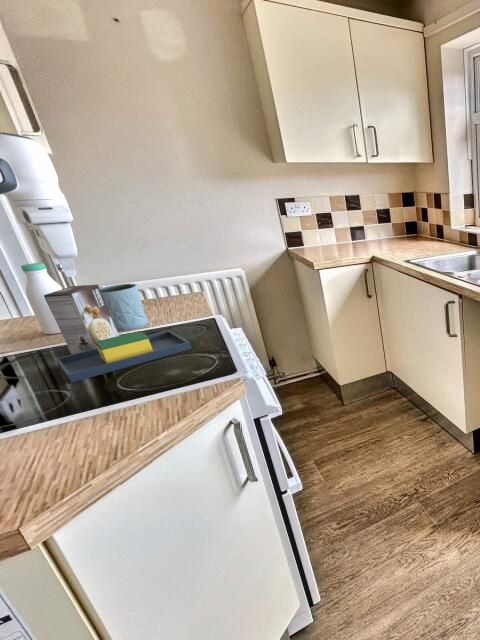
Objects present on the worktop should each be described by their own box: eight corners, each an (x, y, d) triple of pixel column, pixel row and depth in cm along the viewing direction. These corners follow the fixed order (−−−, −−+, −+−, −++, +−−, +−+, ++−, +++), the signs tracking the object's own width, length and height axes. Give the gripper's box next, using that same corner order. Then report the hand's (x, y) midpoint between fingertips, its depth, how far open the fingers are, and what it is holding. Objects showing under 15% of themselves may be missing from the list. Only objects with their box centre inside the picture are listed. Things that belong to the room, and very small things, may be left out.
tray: (71, 382, 94) (67, 374, 93) (58, 366, 102) (54, 358, 102) (191, 348, 111) (189, 341, 110) (172, 336, 119) (169, 330, 119)
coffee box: (96, 341, 117) (72, 285, 111) (121, 339, 118) (99, 283, 112) (69, 354, 109) (42, 294, 103) (97, 352, 110) (72, 293, 104)
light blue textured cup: (158, 320, 133) (145, 283, 128) (130, 332, 124) (114, 292, 119) (128, 320, 134) (114, 283, 129) (97, 332, 124) (81, 292, 120)
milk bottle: (47, 336, 121) (15, 268, 114) (40, 331, 125) (9, 265, 118) (83, 328, 127) (54, 262, 120) (75, 324, 131) (47, 260, 124)
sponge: (107, 364, 102) (100, 347, 100) (101, 358, 105) (94, 341, 103) (153, 351, 108) (147, 335, 106) (146, 346, 112) (140, 330, 110)
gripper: (17, 212, 98) (41, 271, 103) (29, 215, 87) (56, 281, 92) (55, 210, 103) (77, 267, 108) (71, 213, 91) (95, 276, 96)
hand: (67, 274), depth 100 cm, fingers open, 8 cm apart
